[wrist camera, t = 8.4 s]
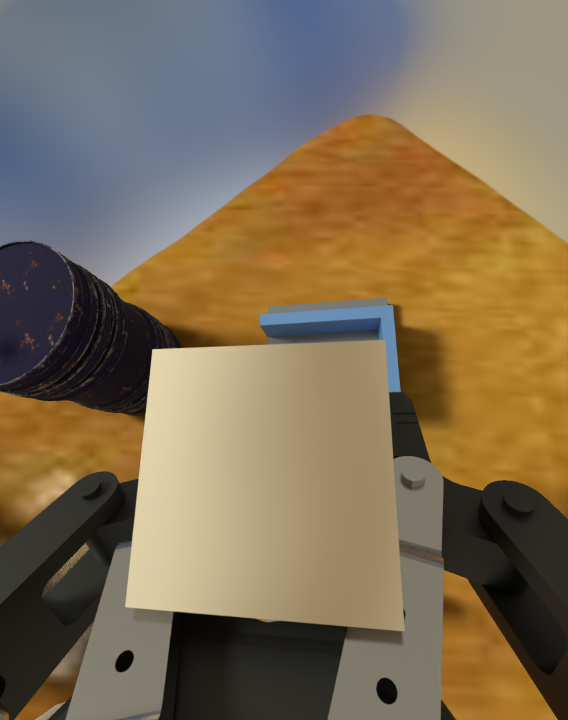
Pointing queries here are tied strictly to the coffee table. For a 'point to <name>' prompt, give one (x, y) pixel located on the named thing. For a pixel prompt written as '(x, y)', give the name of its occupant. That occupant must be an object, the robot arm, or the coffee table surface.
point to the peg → (269, 486)
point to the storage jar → (72, 334)
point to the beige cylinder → (50, 712)
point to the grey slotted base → (335, 328)
